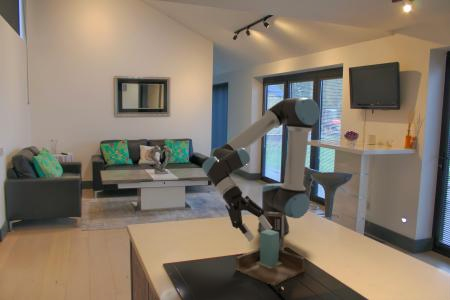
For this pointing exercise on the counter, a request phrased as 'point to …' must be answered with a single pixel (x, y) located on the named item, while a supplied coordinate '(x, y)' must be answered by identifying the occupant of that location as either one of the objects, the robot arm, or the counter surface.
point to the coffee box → (276, 225)
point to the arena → (273, 274)
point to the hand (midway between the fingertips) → (261, 234)
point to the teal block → (269, 247)
